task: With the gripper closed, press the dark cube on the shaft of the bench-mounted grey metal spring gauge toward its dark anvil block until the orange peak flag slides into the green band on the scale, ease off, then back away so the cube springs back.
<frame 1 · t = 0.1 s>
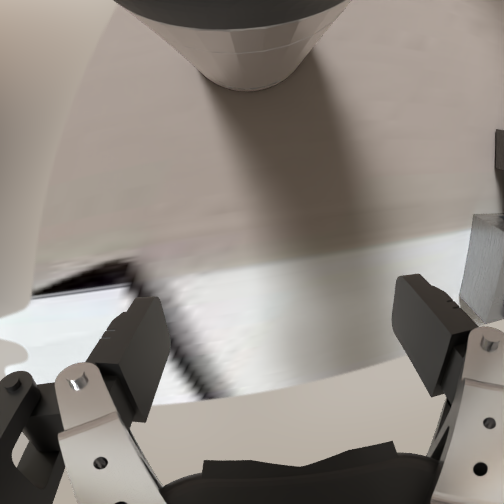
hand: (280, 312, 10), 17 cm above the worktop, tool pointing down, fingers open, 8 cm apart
gauge housing: (497, 253, 28), on the worktop
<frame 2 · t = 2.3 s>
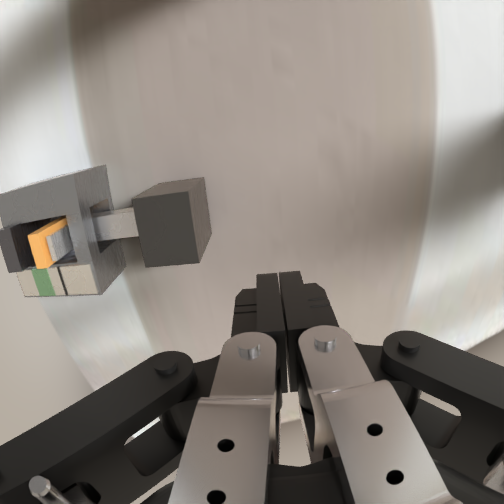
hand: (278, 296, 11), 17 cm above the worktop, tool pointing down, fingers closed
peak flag: (59, 237, 23), point 5 cm above the worktop, slide at 0.0 cm
dark cube on shaft: (130, 225, 24), point 4 cm above the worktop, slide at 0.0 cm
gauge housing: (75, 223, 28), on the worktop
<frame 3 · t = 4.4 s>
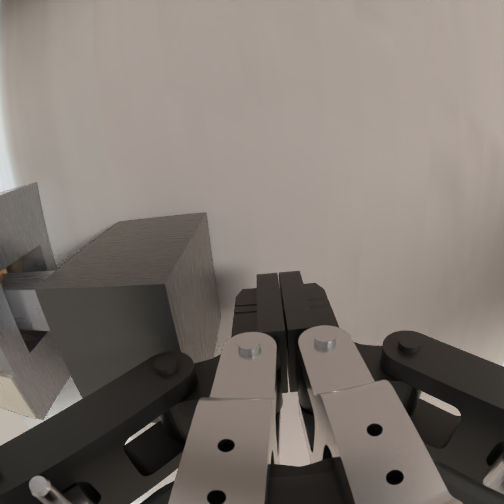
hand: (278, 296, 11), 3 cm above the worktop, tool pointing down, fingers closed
dark cube on shaft: (61, 314, 11), point 4 cm above the worktop, slide at 0.4 cm, touching gripper
gauge housing: (4, 277, 15), on the worktop
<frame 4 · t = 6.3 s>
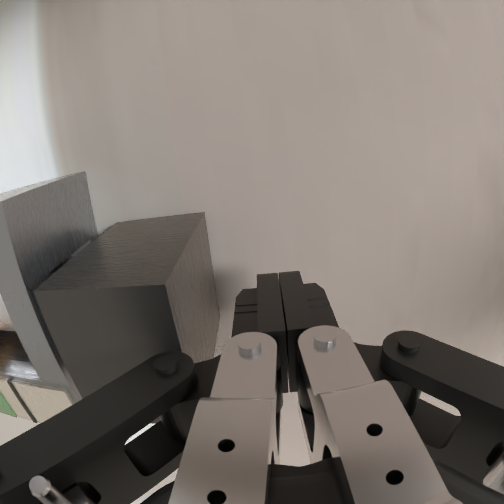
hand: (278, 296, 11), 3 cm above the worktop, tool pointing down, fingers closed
dark cube on shaft: (60, 317, 11), point 4 cm above the worktop, slide at 3.7 cm, touching gripper, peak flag
gauge housing: (37, 278, 14), on the worktop
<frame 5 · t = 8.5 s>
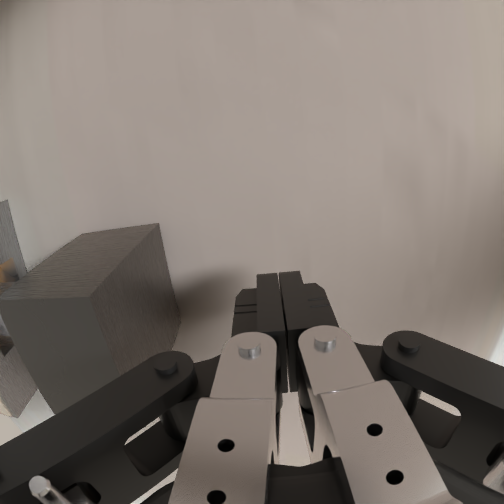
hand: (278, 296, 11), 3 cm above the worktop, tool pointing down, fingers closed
dark cube on shaft: (30, 322, 11), point 4 cm above the worktop, slide at 0.1 cm
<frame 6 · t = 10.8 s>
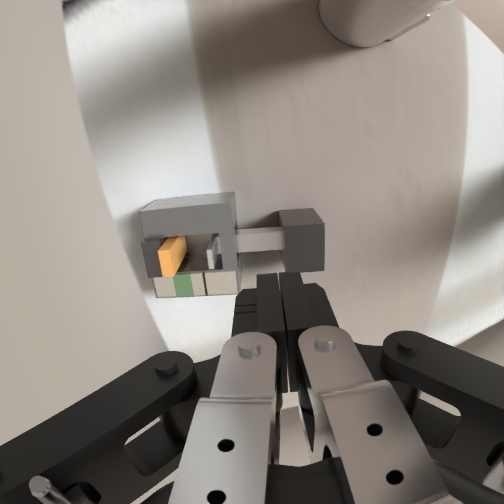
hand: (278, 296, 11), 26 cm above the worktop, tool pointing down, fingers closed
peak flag: (174, 251, 34), point 5 cm above the worktop, slide at 3.2 cm
dark cube on shaft: (266, 242, 34), point 4 cm above the worktop, slide at 0.1 cm
gauge housing: (198, 236, 38), on the worktop
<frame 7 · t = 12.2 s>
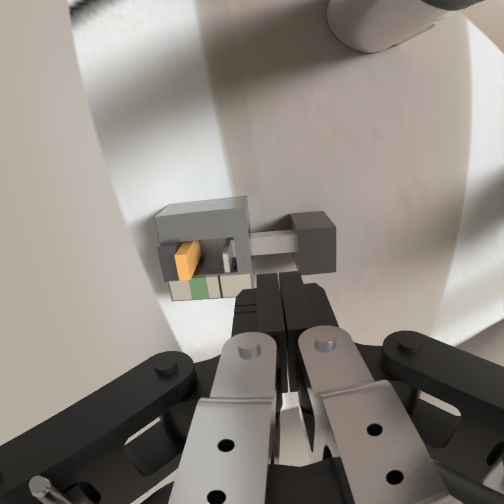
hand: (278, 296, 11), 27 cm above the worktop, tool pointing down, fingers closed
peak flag: (189, 255, 35), point 5 cm above the worktop, slide at 3.2 cm
dark cube on shaft: (279, 245, 35), point 4 cm above the worktop, slide at 0.1 cm
gauge housing: (212, 239, 39), on the worktop
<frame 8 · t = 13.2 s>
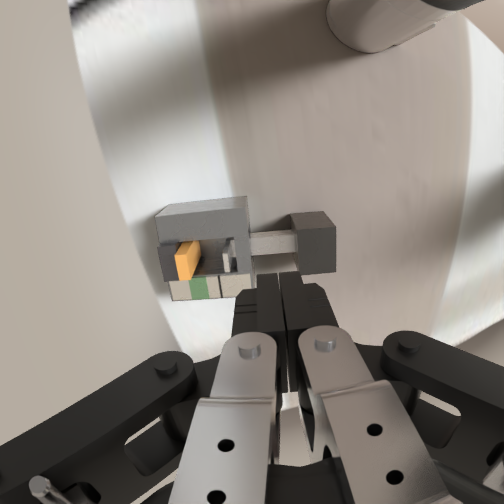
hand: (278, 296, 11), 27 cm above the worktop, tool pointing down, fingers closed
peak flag: (189, 255, 35), point 5 cm above the worktop, slide at 3.2 cm
dark cube on shaft: (279, 245, 35), point 4 cm above the worktop, slide at 0.1 cm
gauge housing: (212, 239, 39), on the worktop
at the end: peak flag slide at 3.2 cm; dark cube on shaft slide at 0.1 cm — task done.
